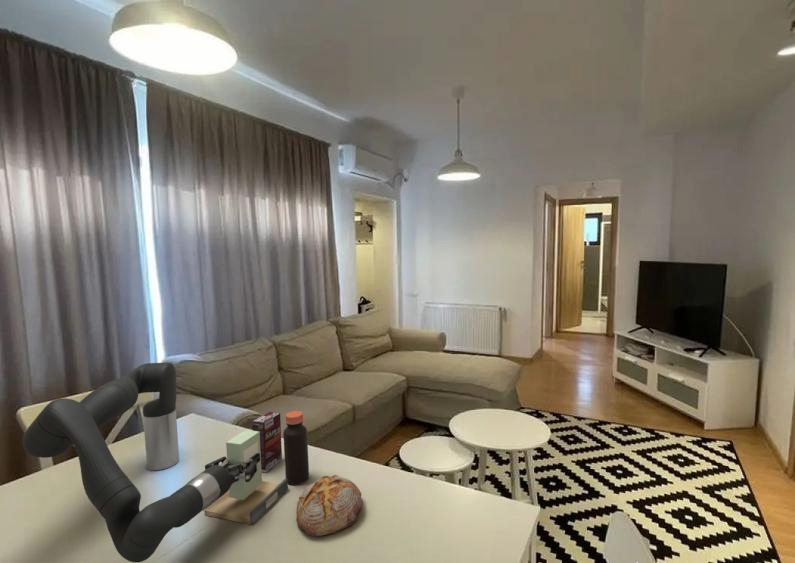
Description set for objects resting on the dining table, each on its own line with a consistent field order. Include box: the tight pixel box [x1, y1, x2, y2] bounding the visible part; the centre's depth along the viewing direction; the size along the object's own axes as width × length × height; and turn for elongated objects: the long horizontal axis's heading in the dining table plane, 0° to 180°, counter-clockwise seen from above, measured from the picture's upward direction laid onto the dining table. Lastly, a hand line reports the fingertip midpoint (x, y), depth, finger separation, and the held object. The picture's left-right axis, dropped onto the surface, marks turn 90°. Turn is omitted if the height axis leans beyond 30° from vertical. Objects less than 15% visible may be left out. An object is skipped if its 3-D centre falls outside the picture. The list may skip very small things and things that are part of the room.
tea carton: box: [225, 429, 263, 500], centre depth 113 cm, size 4×8×15 cm, turn 163°
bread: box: [295, 474, 363, 537], centre depth 107 cm, size 16×20×10 cm
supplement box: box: [252, 411, 283, 473], centre depth 132 cm, size 9×5×16 cm, turn 160°
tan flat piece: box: [203, 478, 289, 525], centre depth 114 cm, size 15×16×3 cm
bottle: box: [282, 410, 310, 486], centre depth 123 cm, size 7×7×20 cm
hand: (250, 455), depth 115 cm, fingers closed on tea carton, 4 cm apart
